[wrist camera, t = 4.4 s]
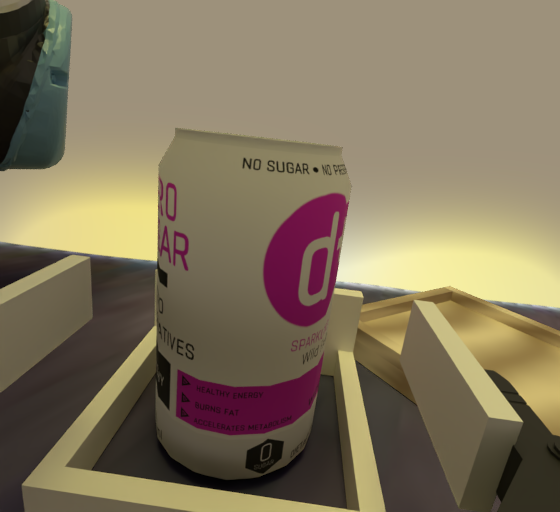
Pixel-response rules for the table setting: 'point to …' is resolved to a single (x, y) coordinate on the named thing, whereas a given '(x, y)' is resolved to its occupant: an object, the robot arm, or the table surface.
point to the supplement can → (244, 296)
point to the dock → (190, 499)
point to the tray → (469, 345)
